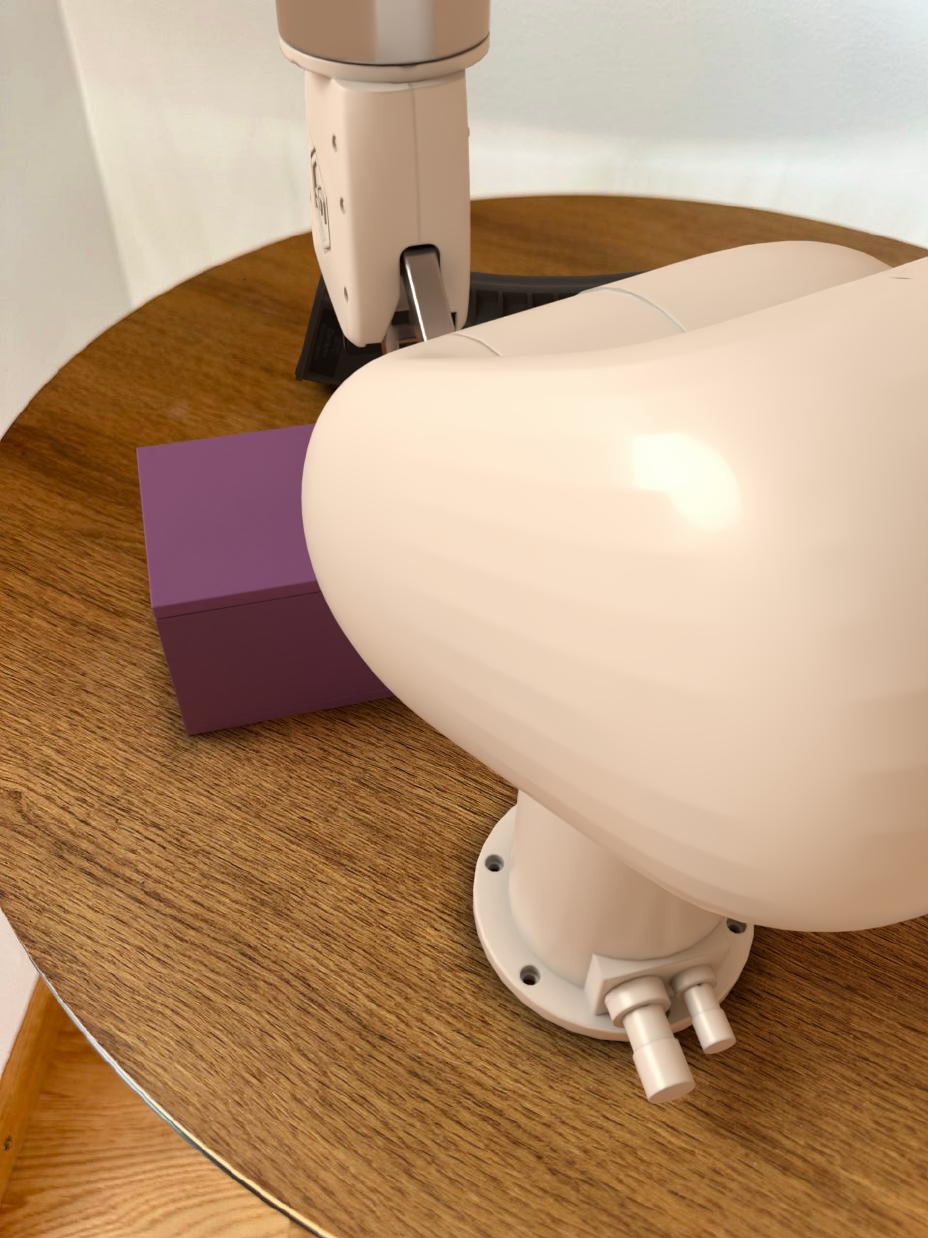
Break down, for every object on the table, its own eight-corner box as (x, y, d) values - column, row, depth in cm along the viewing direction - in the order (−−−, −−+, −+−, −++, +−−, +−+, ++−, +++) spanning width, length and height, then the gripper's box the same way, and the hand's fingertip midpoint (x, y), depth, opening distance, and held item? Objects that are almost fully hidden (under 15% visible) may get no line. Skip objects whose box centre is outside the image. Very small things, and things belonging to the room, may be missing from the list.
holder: (398, 541, 65) (394, 424, 59) (444, 687, 58) (447, 570, 51) (169, 578, 63) (139, 460, 56) (186, 736, 55) (154, 620, 49)
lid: (409, 421, 59) (408, 342, 55) (463, 568, 51) (466, 487, 48) (138, 459, 56) (118, 378, 52) (154, 619, 49) (132, 538, 45)
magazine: (244, 276, 68) (729, 168, 61) (255, 250, 70) (725, 143, 63) (338, 481, 80) (753, 412, 72) (345, 453, 82) (748, 384, 75)
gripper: (245, -65, 43) (289, 319, 55) (318, 104, 31) (353, 542, 44) (429, -76, 44) (432, 301, 56) (564, 83, 33) (530, 512, 45)
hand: (398, 406), depth 50 cm, fingers open, 9 cm apart
